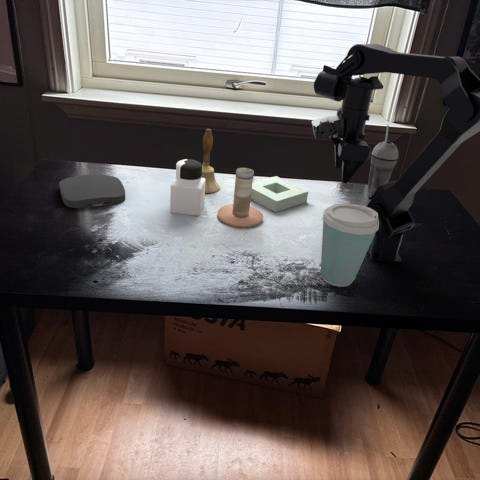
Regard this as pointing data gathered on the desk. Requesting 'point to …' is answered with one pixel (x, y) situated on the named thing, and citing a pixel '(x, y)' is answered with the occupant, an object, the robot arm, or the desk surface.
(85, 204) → the media streaming box
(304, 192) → the socket block
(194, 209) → the medicine bottle
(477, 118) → the robot arm
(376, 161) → the beverage cup
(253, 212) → the terracotta coaster
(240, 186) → the beige cylinder
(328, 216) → the disposable coffee cup
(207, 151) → the hand bell
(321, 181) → the desk surface
